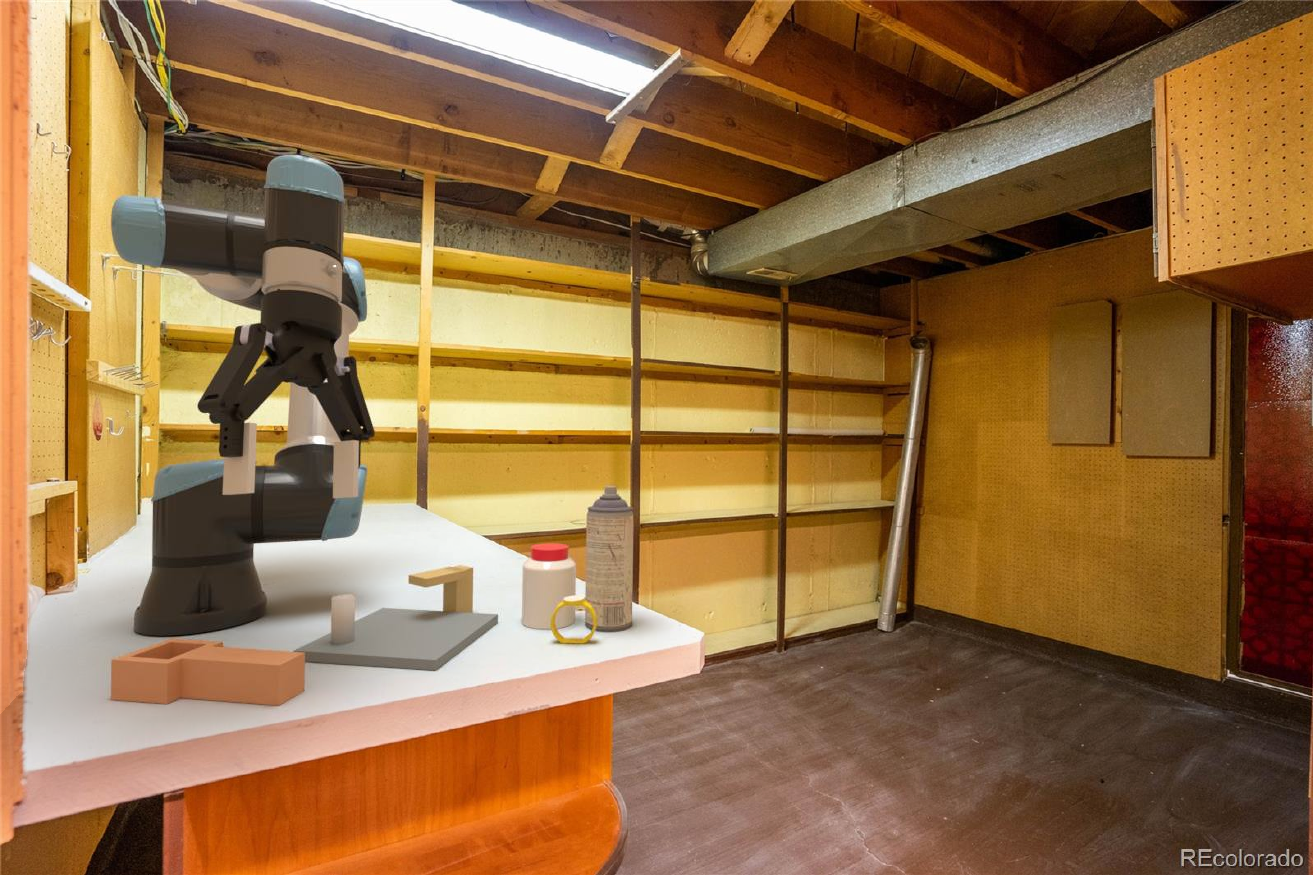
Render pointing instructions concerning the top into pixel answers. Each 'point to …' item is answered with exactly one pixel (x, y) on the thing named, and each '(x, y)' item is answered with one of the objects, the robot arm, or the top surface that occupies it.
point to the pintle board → (405, 628)
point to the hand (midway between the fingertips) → (297, 496)
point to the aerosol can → (609, 562)
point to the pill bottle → (548, 586)
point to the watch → (573, 602)
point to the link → (207, 673)
